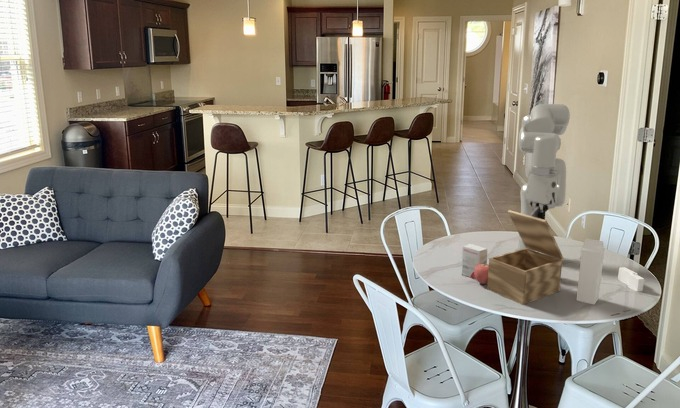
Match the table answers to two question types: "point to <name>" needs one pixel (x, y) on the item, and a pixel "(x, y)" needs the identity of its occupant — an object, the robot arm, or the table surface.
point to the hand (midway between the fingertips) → (538, 221)
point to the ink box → (472, 258)
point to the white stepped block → (631, 279)
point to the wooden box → (524, 275)
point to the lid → (536, 233)
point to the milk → (590, 271)
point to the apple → (481, 273)
